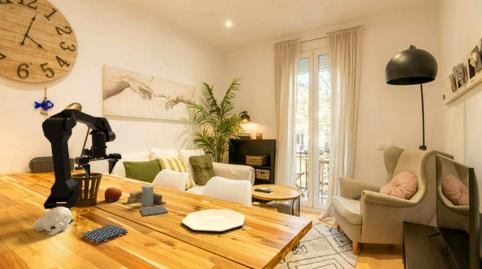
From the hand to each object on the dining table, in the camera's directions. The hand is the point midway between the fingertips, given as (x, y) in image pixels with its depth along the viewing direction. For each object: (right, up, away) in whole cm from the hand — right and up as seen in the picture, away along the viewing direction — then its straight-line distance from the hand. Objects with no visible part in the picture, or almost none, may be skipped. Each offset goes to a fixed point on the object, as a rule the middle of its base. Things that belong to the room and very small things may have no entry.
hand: (99, 176), depth 112 cm
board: (+22, -14, +1) cm, 26 cm away
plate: (+57, -15, -20) cm, 62 cm away
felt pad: (+29, -14, -8) cm, 33 cm away
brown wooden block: (+24, -14, +7) cm, 29 cm away
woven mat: (+23, -14, -34) cm, 43 cm away
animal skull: (+2, -14, -32) cm, 34 cm away
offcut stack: (+14, -14, +8) cm, 22 cm away
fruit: (+2, -14, +9) cm, 17 cm away
